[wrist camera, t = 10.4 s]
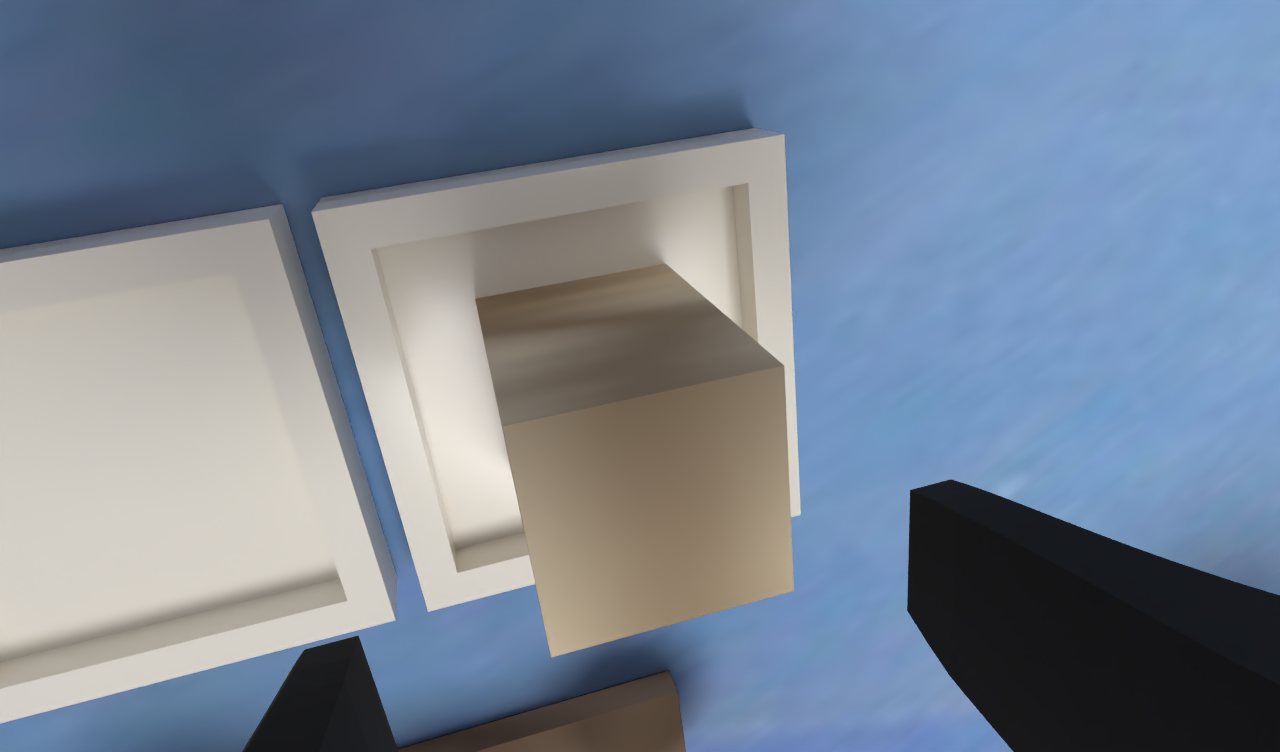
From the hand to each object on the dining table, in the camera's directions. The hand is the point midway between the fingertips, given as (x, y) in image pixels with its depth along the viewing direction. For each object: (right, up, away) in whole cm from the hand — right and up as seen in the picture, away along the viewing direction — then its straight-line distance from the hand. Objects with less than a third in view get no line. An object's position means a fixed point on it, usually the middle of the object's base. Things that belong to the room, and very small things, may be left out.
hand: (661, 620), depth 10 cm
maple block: (-1, +3, +7) cm, 8 cm away
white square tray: (-11, +1, +6) cm, 12 cm away
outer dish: (-2, +3, +7) cm, 8 cm away
